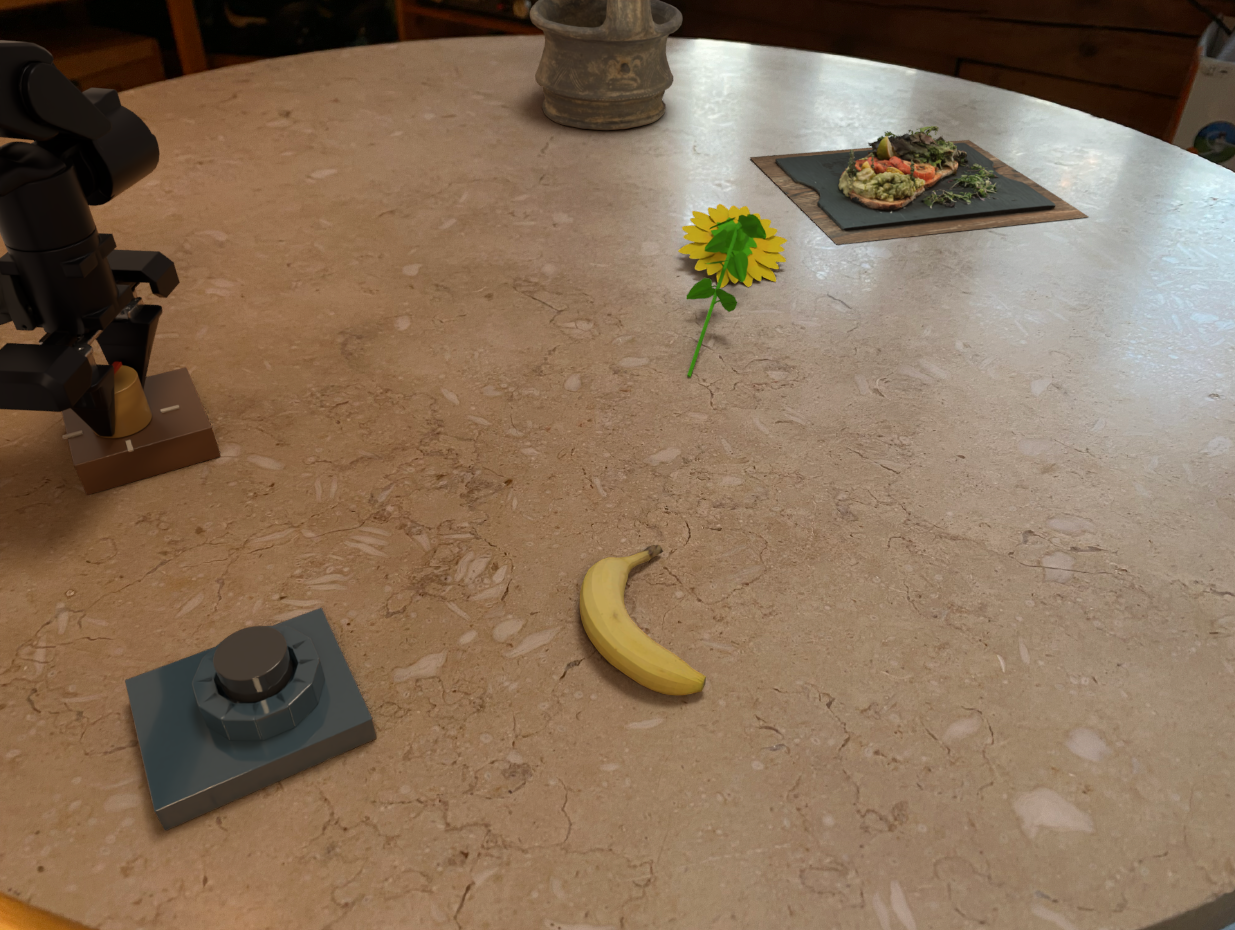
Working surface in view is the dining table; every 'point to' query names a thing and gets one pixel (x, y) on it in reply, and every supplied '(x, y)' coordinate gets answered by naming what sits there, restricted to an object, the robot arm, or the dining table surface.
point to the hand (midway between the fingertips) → (121, 417)
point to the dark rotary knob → (253, 664)
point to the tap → (129, 402)
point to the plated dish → (911, 189)
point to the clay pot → (604, 61)
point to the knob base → (244, 724)
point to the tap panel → (145, 437)
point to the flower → (730, 254)
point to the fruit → (630, 630)
